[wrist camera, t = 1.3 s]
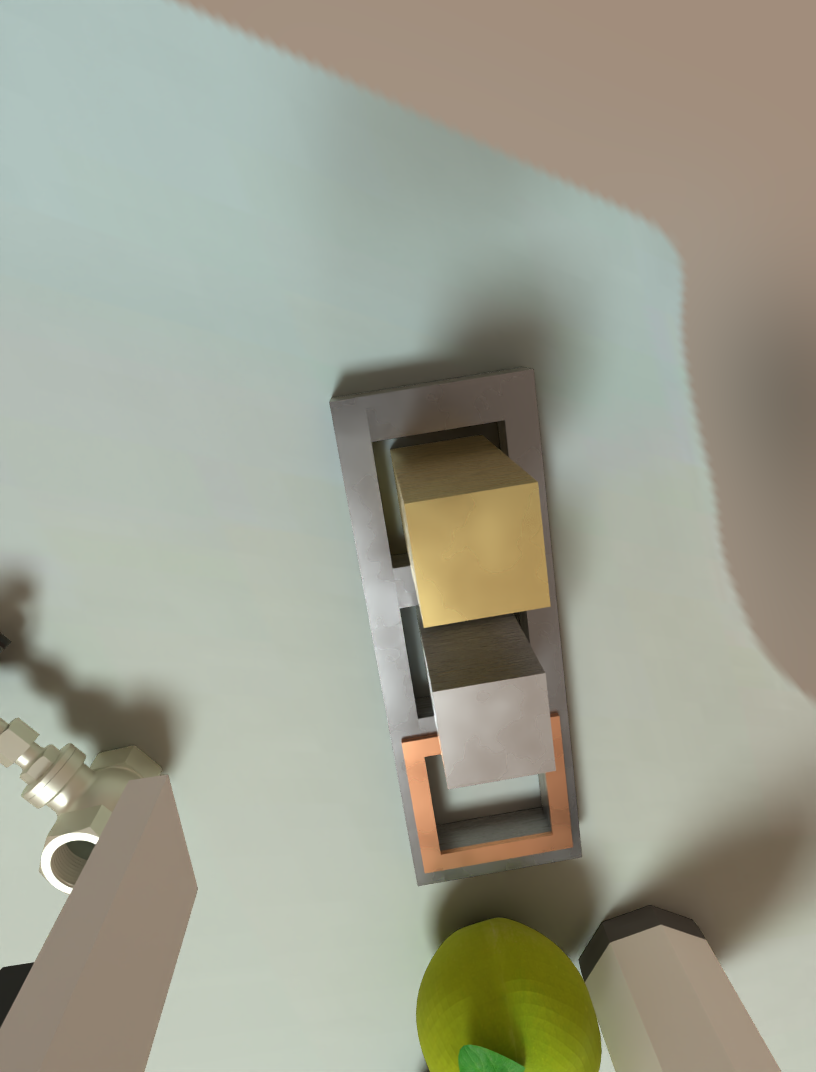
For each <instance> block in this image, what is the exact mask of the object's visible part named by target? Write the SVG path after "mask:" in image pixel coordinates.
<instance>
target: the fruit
mask: <svg viewBox="0 0 816 1072" xmlns="http://www.w3.org/2000/svg"><path fill="white" fill-rule="evenodd" d="M416 1022H417V1030H418V1037H419V1041H420V1045H421V1049H422V1052H423V1055H424V1058H425V1061H426V1063H427V1066H428V1068H429V1071H430V1072H598V1071H599V1068H600V1062H601V1053H602V1050H601V1037H600V1031H599V1027H598V1022H597V1017H596V1013H595V1010H594V1007H593V1004H592V1001H591V997H590V994H589V991H588V989H587V987H586V984H585V982H584V980H583V978H582V976H581V975H580V973H579V971H578V970H577V968H576V967H575V966H574V964H573V963H572V961H571V960H570V959H569V958H568V957H567V956H566V954H565V953H564V952H563V951H562V950H561V949H560V948H559V947H558V946H557V945H556V944H554V943H553V942H552V941H551V940H549V939H548V938H547V937H545V936H544V935H542V934H541V933H539V932H538V931H536V930H534V929H532V928H530V927H528V926H526V925H524V924H521V923H519V922H516V921H513V920H510V919H506V918H492V919H488V920H485V921H482V922H479V923H476V924H472V925H469V926H466V927H463V928H461V929H459V930H457V931H456V932H454V933H453V934H452V935H450V936H449V937H448V938H447V939H446V940H445V941H444V942H443V944H442V945H441V946H440V947H439V948H438V950H437V952H436V953H435V955H434V956H433V958H432V959H431V961H430V963H429V965H428V967H427V969H426V971H425V974H424V976H423V979H422V982H421V985H420V989H419V993H418V998H417V1008H416Z"/></svg>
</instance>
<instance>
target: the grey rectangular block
mask: <svg viewBox="0 0 816 1072" xmlns="http://www.w3.org/2000/svg"><path fill="white" fill-rule="evenodd" d="M415 607H416V613H417V620H418V626H419V632H420V638H421V644H422V651H423V657H424V663H425V669H426V675H427V682H428V687H429V692H430V697H431V703H432V708H433V713H434V718H435V724H436V729H437V734H438V739H439V745H440V750H441V755H442V760H443V766H444V771H445V776H446V781H447V787H448V789H453V788H459V787H465V786H471V785H477V784H482V783H488V782H494V781H500V780H506V779H511V778H517V777H523V776H529V775H535V774H540V773H546V772H552V771H556V766H555V757H554V747H553V738H552V729H551V719H550V710H549V701H548V692H547V682H546V673H545V671H544V669H543V667H542V666H541V664H540V662H539V660H538V658H537V656H536V655H535V653H534V651H533V649H532V647H531V645H530V643H529V642H528V640H527V638H526V636H525V634H524V632H523V631H522V629H521V627H520V625H519V623H518V621H517V619H516V618H515V616H514V614H513V613H509V614H503V615H498V616H492V617H486V618H480V619H474V620H468V621H462V622H456V623H450V624H444V625H438V626H432V627H426V628H424V626H423V622H422V617H421V612H420V608H419V605H416V606H415Z"/></svg>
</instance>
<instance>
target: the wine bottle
mask: <svg viewBox="0 0 816 1072" xmlns="http://www.w3.org/2000/svg"><path fill="white" fill-rule="evenodd" d="M579 964H580V969H581V973H582V976H583V979H584V982H585V984H586V987H587V989H588V991H589V994H590V997H591V1001H592V1004H593V1007H594V1010H595V1013H596V1017H597V1019H598V1022H599V1025H600V1028H601V1031H602V1034H603V1037H604V1040H605V1042H606V1045H607V1048H608V1051H609V1054H610V1057H611V1060H612V1063H613V1065H614V1068H615V1071H616V1072H781V1070H780V1068H779V1066H778V1065H777V1063H776V1061H775V1059H774V1058H773V1056H772V1054H771V1052H770V1051H769V1049H768V1047H767V1045H766V1044H765V1042H764V1040H763V1038H762V1037H761V1035H760V1033H759V1031H758V1030H757V1028H756V1026H755V1024H754V1023H753V1021H752V1019H751V1017H750V1016H749V1014H748V1012H747V1010H746V1009H745V1007H744V1005H743V1003H742V1002H741V1000H740V998H739V996H738V995H737V993H736V991H735V989H734V988H733V986H732V984H731V982H730V981H729V979H728V977H727V975H726V974H725V972H724V970H723V968H722V967H721V965H720V963H719V962H718V960H717V958H716V956H715V955H714V953H713V951H712V949H711V948H710V946H709V944H708V942H707V941H706V939H705V937H704V935H703V934H702V932H701V931H700V929H699V928H698V926H697V925H696V924H695V922H694V921H693V920H692V919H689V918H686V917H683V916H680V915H677V914H674V913H671V912H668V911H665V910H662V909H659V908H656V907H653V906H651V905H649V906H647V907H644V908H641V909H638V910H635V911H633V912H630V913H627V914H624V915H621V916H618V917H616V918H613V919H610V920H607V921H604V922H602V924H601V925H600V927H599V928H598V930H597V932H596V933H595V935H594V936H593V938H592V940H591V941H590V943H589V944H588V946H587V948H586V949H585V951H584V952H583V954H582V956H581V957H580V959H579Z"/></svg>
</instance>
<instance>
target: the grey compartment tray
mask: <svg viewBox="0 0 816 1072" xmlns="http://www.w3.org/2000/svg"><path fill="white" fill-rule="evenodd" d="M329 403H330V408H331V414H332V419H333V425H334V430H335V436H336V441H337V447H338V452H339V458H340V463H341V469H342V474H343V479H344V485H345V490H346V496H347V501H348V507H349V512H350V518H351V523H352V529H353V534H354V540H355V545H356V551H357V556H358V562H359V567H360V573H361V578H362V584H363V589H364V594H365V600H366V605H367V611H368V616H369V622H370V627H371V633H372V638H373V644H374V649H375V655H376V660H377V666H378V671H379V677H380V682H381V688H382V693H383V698H384V704H385V709H386V715H387V720H388V726H389V731H390V737H391V742H392V748H393V753H394V759H395V764H396V770H397V775H398V781H399V786H400V792H401V797H402V802H403V808H404V813H405V819H406V824H407V830H408V835H409V841H410V846H411V852H412V857H413V863H414V868H415V874H416V879H417V885H418V886H422V885H428V884H433V883H439V882H445V881H450V880H456V879H461V878H467V877H473V876H478V875H484V874H490V873H495V872H501V871H507V870H512V869H518V868H524V867H529V866H535V865H541V864H546V863H552V862H558V861H563V860H569V859H574V858H580V857H582V851H581V841H580V831H579V821H578V811H577V801H576V791H575V781H574V771H573V760H572V750H571V740H570V730H569V720H568V710H567V700H566V690H565V680H564V670H563V660H562V650H561V640H560V629H559V619H558V609H557V599H556V589H555V579H554V569H553V559H552V549H551V539H550V529H549V519H548V509H547V499H546V488H545V478H544V468H543V458H542V448H541V438H540V428H539V418H538V408H537V398H536V388H535V378H534V369H531V368H527V367H519V368H513V369H507V370H501V371H495V372H488V373H482V374H476V375H470V376H464V377H457V378H451V379H445V380H439V381H433V382H426V383H420V384H414V385H408V386H402V387H395V388H389V389H383V390H377V391H371V392H365V393H358V394H352V395H346V396H340V397H334V398H331V399H330V402H329ZM491 422H497V424H498V432H499V441H500V450H501V451H502V452H503V453H504V454H505V455H507V456H508V457H509V458H510V459H511V460H512V461H514V462H515V463H516V464H517V465H518V466H520V467H521V468H522V469H523V470H524V471H526V472H527V473H528V474H529V475H530V476H531V477H533V478H534V479H535V480H536V481H537V482H538V487H539V497H540V507H541V517H542V527H543V536H544V546H545V556H546V566H547V576H548V585H549V595H550V605H551V607H545V608H539V609H533V610H527V611H521V612H519V613H520V622H521V629H522V631H523V632H524V634H525V636H526V638H527V640H528V642H529V643H530V645H531V647H532V649H533V651H534V653H535V655H536V656H537V658H538V660H539V662H540V664H541V666H542V667H543V669H544V671H545V673H546V682H547V692H548V701H549V710H550V719H551V729H552V738H553V747H554V757H555V766H556V771H552V772H546V773H540V774H538V777H539V785H540V794H541V803H542V807H539V808H534V809H528V810H522V811H516V812H511V813H505V814H499V815H494V816H488V817H482V818H477V819H471V820H465V821H459V822H454V823H448V824H442V825H437V826H436V821H435V816H434V810H433V804H432V798H431V792H430V786H429V780H428V774H427V768H426V762H425V757H427V756H433V755H438V754H441V750H440V745H439V739H438V734H437V729H436V724H435V718H434V713H433V708H432V703H431V697H430V696H429V697H423V698H418V699H415V697H414V691H413V685H412V679H411V673H410V667H409V661H408V655H407V649H406V643H405V637H404V631H403V626H402V620H401V614H400V608H404V607H410V606H416V605H419V603H418V599H417V594H416V589H415V585H414V580H413V576H412V571H411V566H410V562H409V557H408V553H405V554H399V555H393V556H391V554H390V548H389V542H388V536H387V531H386V525H385V519H384V513H383V507H382V501H381V495H380V489H379V483H378V477H377V471H376V465H375V459H374V453H373V447H372V442H374V441H380V440H386V439H392V438H399V437H405V436H411V435H417V434H423V433H429V432H435V431H441V430H448V429H454V428H460V427H466V426H472V425H478V424H484V423H491Z"/></svg>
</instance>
